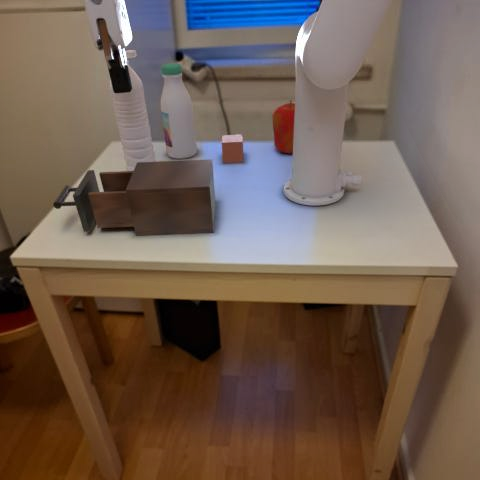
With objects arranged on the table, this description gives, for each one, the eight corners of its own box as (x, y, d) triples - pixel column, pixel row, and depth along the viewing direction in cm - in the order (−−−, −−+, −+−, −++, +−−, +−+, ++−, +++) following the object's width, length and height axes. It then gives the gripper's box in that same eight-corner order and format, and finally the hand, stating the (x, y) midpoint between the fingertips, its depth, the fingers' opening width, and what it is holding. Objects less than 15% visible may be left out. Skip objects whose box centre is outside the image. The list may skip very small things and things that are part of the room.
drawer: (57, 232, 82) (44, 196, 77) (73, 205, 90) (62, 171, 85) (155, 229, 81) (148, 192, 76) (162, 202, 89) (156, 167, 84)
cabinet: (135, 235, 81) (125, 189, 75) (145, 205, 90) (137, 162, 84) (213, 232, 81) (209, 186, 75) (215, 202, 90) (212, 159, 84)
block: (243, 154, 109) (242, 134, 106) (243, 162, 105) (242, 141, 102) (223, 155, 109) (221, 135, 106) (222, 163, 105) (221, 142, 102)
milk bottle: (200, 148, 113) (191, 60, 100) (193, 159, 108) (183, 68, 94) (171, 147, 114) (159, 61, 101) (163, 159, 109) (149, 69, 95)
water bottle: (152, 189, 96) (128, 59, 80) (125, 187, 98) (96, 59, 81) (166, 172, 102) (147, 49, 86) (140, 171, 104) (117, 49, 87)
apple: (272, 144, 114) (273, 95, 106) (305, 144, 113) (308, 94, 105) (270, 157, 107) (271, 105, 99) (305, 157, 106) (308, 105, 98)
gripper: (110, -38, 62) (137, 102, 74) (126, -42, 73) (148, 79, 85) (57, -34, 62) (94, 105, 74) (82, -39, 73) (110, 82, 85)
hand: (123, 91), depth 80 cm, fingers closed
